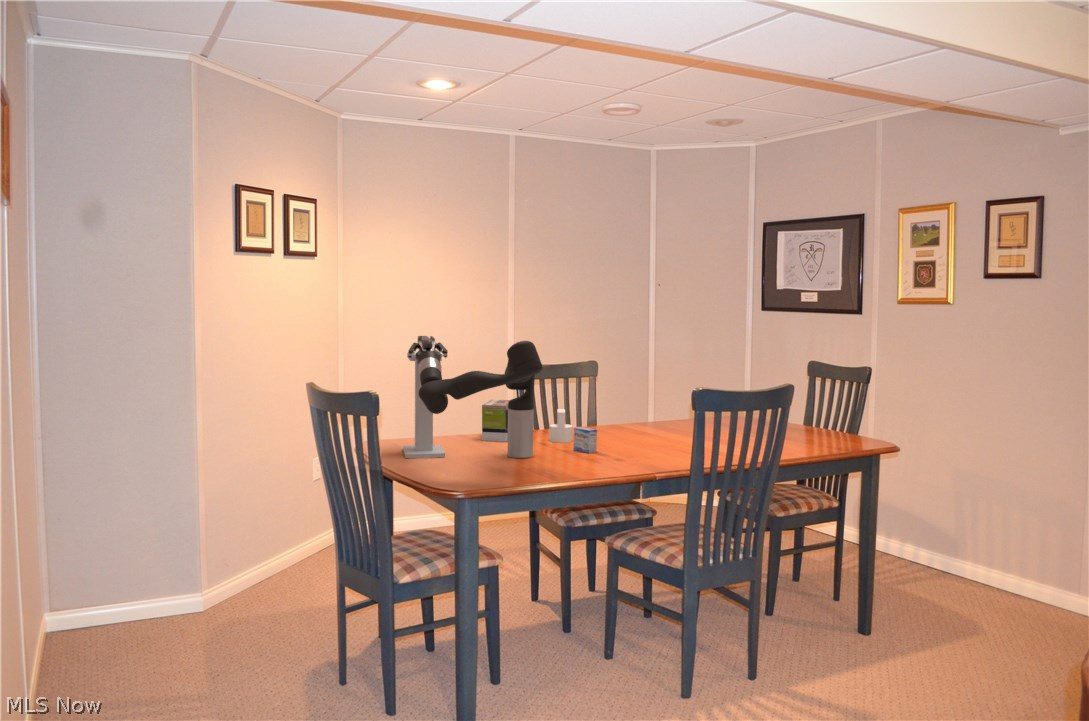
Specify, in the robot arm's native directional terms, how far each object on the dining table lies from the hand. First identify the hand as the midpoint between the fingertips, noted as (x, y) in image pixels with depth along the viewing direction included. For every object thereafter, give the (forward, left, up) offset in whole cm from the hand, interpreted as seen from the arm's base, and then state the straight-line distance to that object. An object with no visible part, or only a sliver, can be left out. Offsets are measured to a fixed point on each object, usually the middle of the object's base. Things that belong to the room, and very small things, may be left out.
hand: (425, 338), depth 300 cm
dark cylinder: (-3, -2, -3) cm, 5 cm away
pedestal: (-9, -6, -43) cm, 44 cm away
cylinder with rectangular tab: (-56, +29, -43) cm, 76 cm away
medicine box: (-40, +45, -43) cm, 74 cm away
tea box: (-49, +5, -43) cm, 65 cm away
